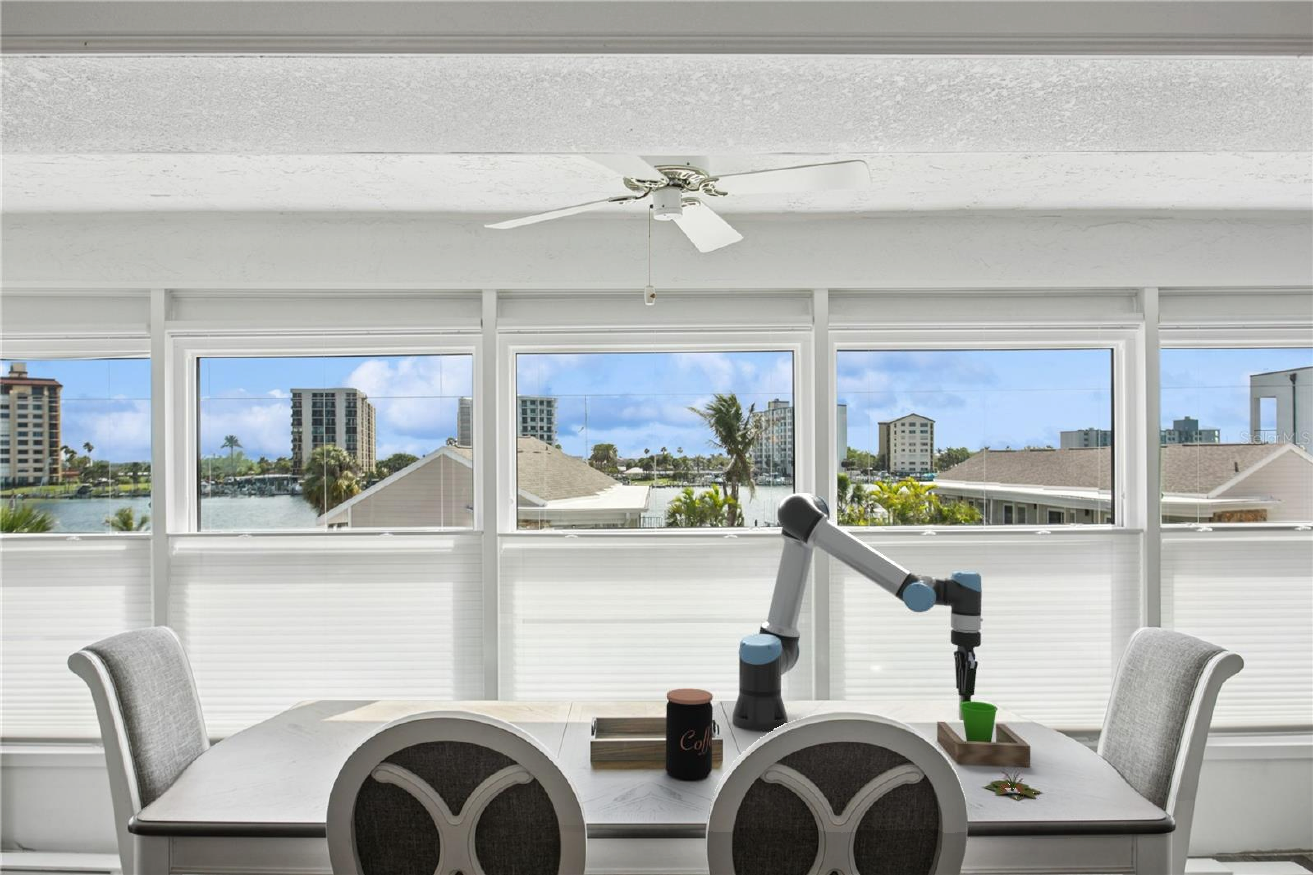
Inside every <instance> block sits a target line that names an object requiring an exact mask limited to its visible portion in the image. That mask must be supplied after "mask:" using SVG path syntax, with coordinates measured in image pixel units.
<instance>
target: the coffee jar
mask: <svg viewBox="0 0 1313 875" xmlns="http://www.w3.org/2000/svg"><path fill="white" fill-rule="evenodd" d="M666 699H667V700H668V702H667V703H666V705H665V706H666V707H665V708H666V710H665V711H666V712H665V713H666V714H665V717H666V719H665V770H666V772H667V774H668V776H669V777H670V778H673V779H675V780H679V781H685V782H696V781H701V780H702V781H703V780H704V779H707V778H708V777H709V776H710V774H711V773H712V770H713V712H714V711H713V709H714V708H713V705H712V704H713V703H712V702H711V701H712V700H713V693H711V692H710V691H707V690H704V689H699V688H678V689H672V690H669V691H668V692H667V693H666Z"/></svg>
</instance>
